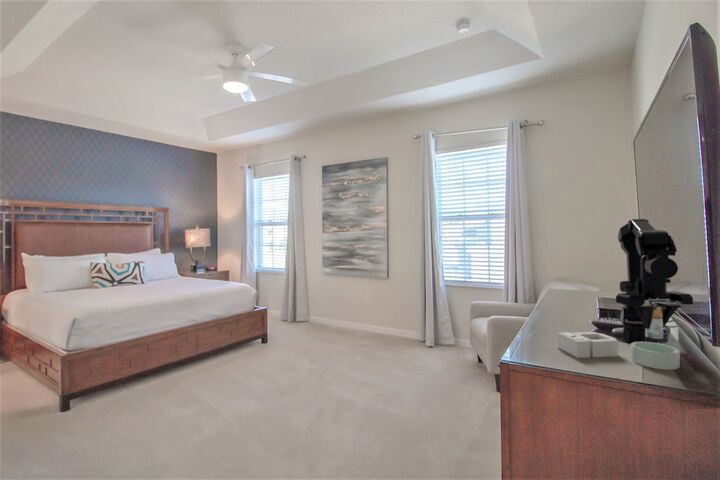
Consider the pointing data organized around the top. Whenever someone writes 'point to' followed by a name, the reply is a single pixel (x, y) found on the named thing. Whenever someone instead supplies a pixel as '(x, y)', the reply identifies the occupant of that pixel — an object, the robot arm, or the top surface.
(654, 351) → the cup
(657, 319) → the battery cell
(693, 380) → the top surface
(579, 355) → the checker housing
